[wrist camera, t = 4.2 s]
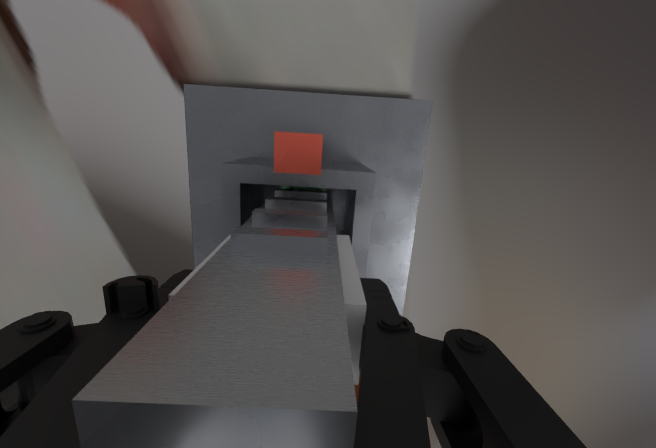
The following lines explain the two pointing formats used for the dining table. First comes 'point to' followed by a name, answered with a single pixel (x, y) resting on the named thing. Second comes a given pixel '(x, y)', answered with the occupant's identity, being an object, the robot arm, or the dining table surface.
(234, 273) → the column
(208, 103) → the stand base
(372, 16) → the dining table surface
